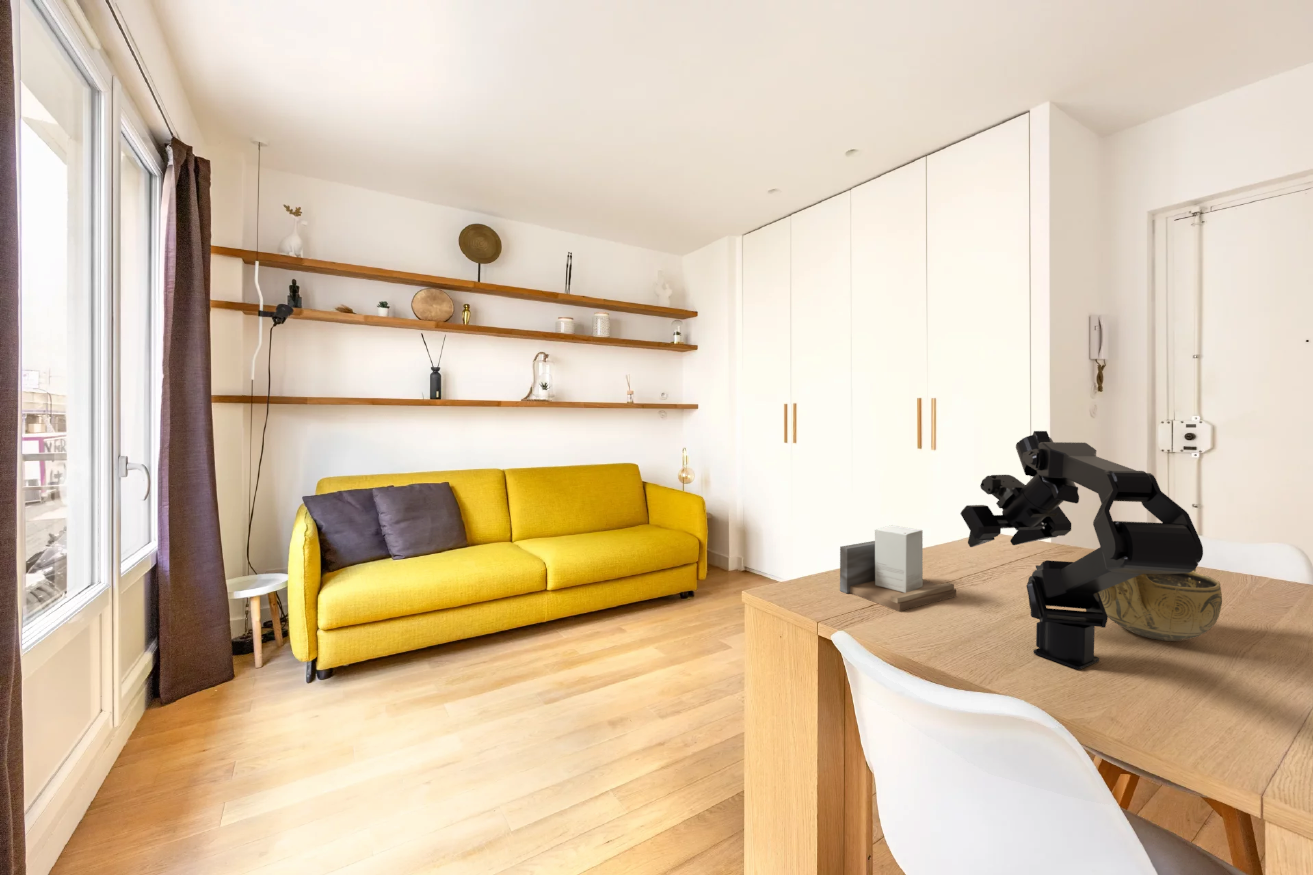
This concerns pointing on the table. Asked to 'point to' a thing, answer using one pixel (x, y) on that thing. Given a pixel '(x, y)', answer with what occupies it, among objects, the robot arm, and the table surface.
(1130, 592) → the ceramic bowl
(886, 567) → the supplement box
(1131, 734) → the table surface
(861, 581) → the ledge
